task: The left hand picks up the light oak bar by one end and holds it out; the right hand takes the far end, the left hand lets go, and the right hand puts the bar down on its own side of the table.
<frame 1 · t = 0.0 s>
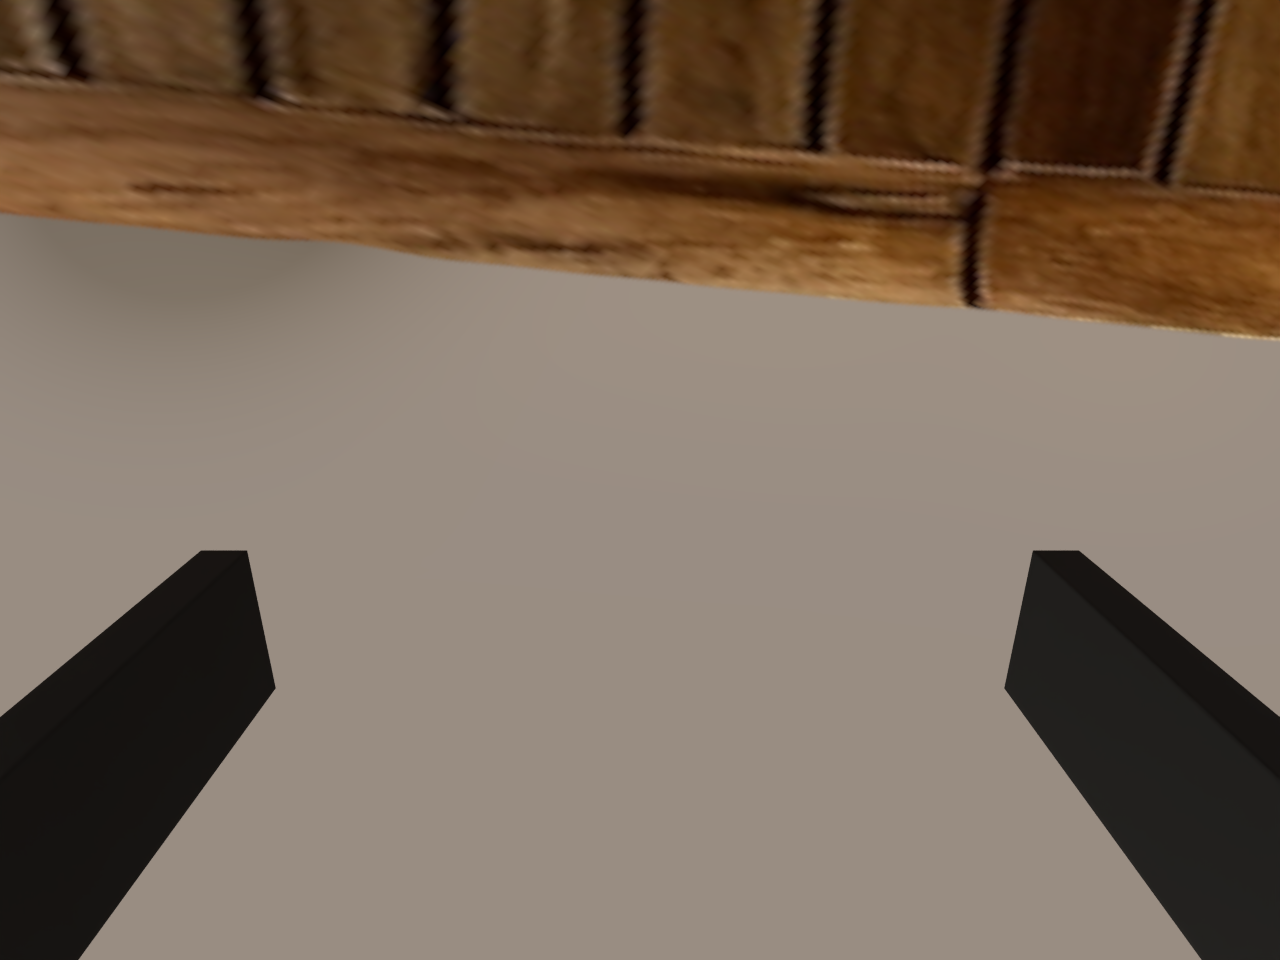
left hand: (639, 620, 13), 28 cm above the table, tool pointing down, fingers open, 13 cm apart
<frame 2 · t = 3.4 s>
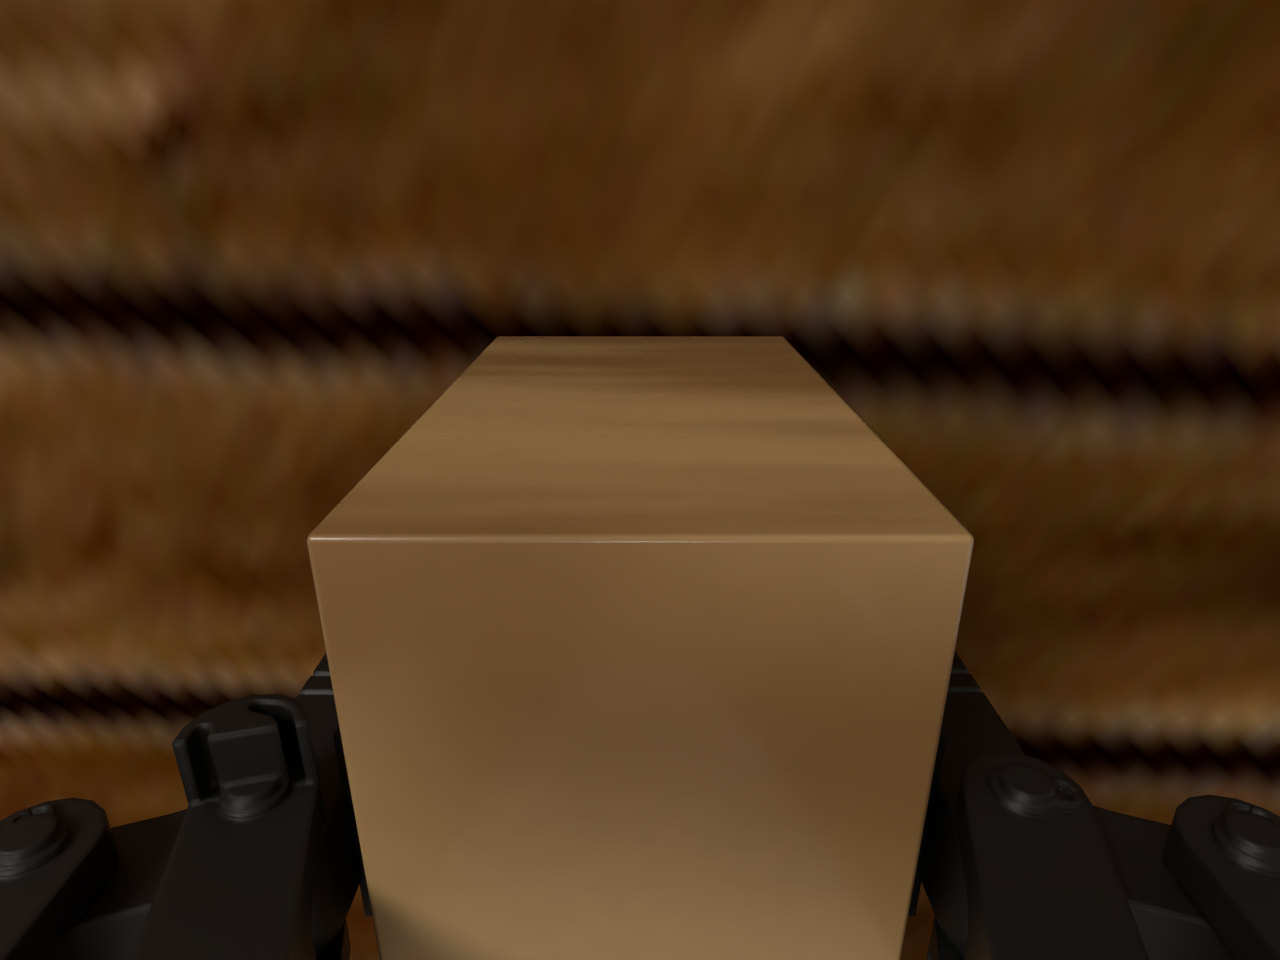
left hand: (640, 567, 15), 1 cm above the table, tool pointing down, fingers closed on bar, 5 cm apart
bar: (640, 863, 18), on the table, touching left hand
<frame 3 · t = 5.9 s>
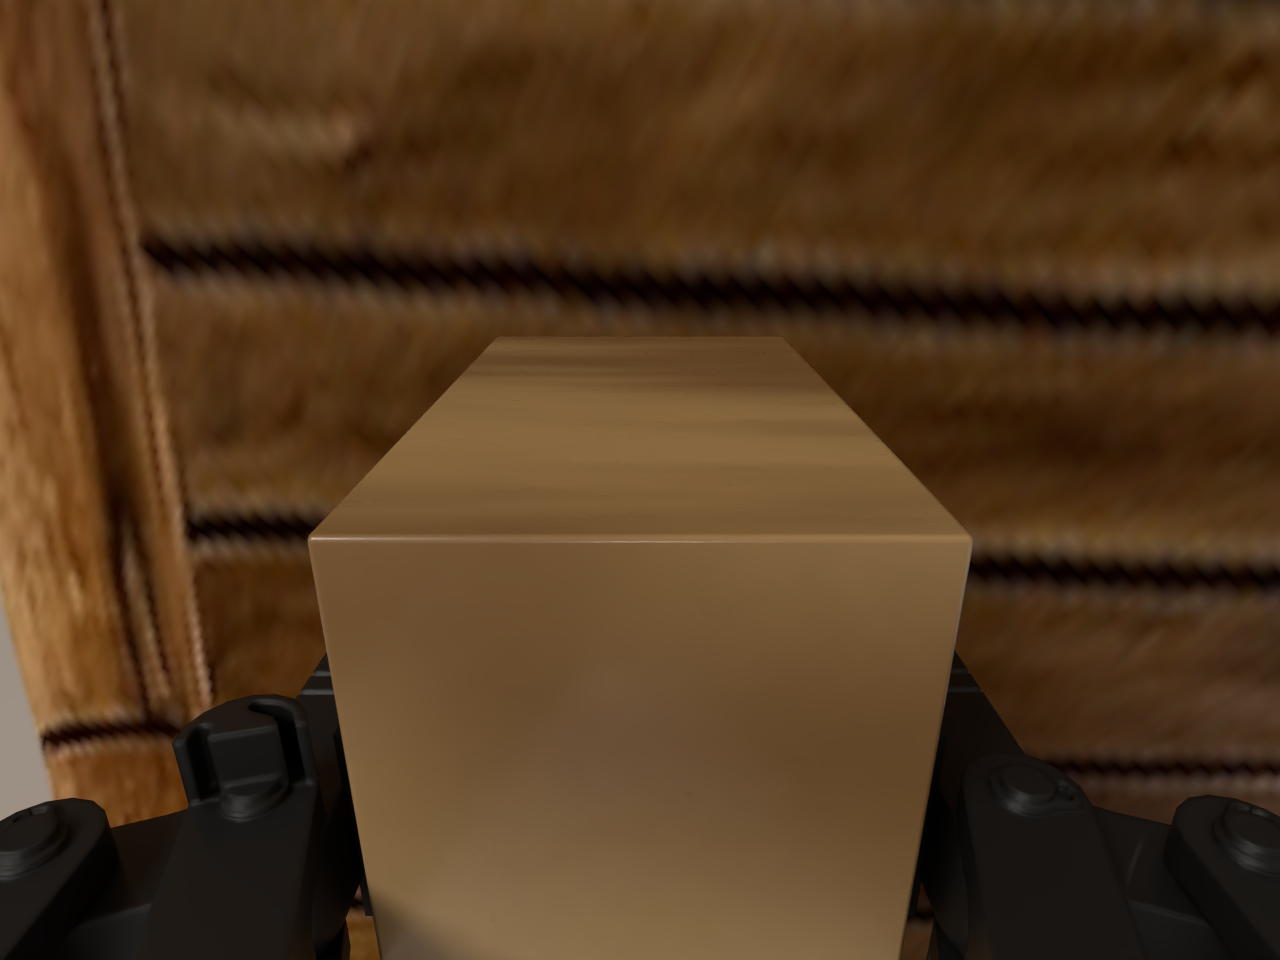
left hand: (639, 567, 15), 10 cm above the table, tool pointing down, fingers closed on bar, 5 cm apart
bar: (640, 863, 18), point 9 cm above the table, touching left hand
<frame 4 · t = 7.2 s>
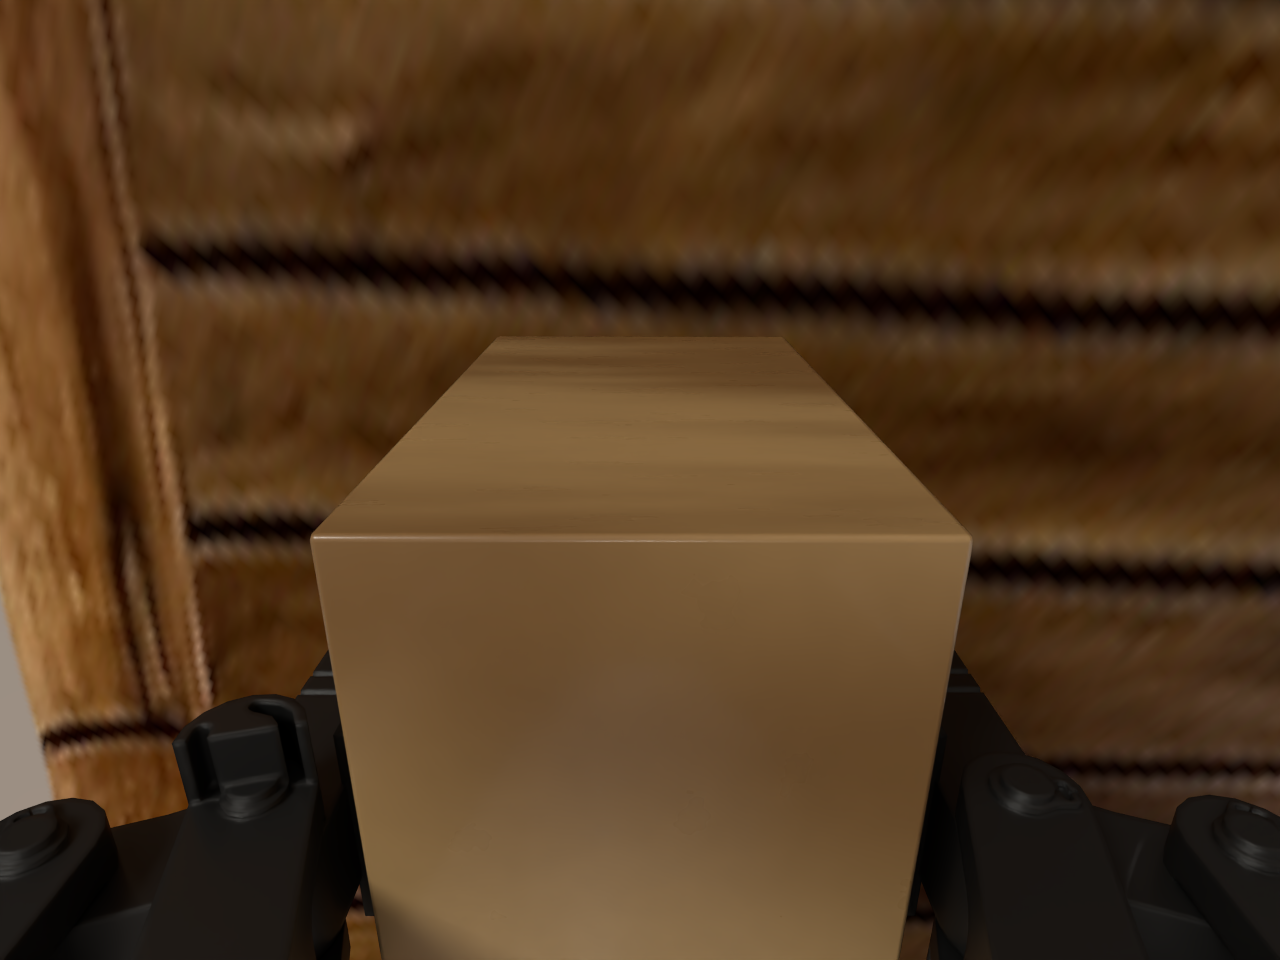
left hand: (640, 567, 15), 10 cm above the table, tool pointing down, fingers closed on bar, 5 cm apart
bar: (639, 862, 18), point 9 cm above the table, touching left hand, right hand
when the left hand's fingers open (10 cm above the table, at t = 8.2 s): bar stays where it is, held by the right hand.
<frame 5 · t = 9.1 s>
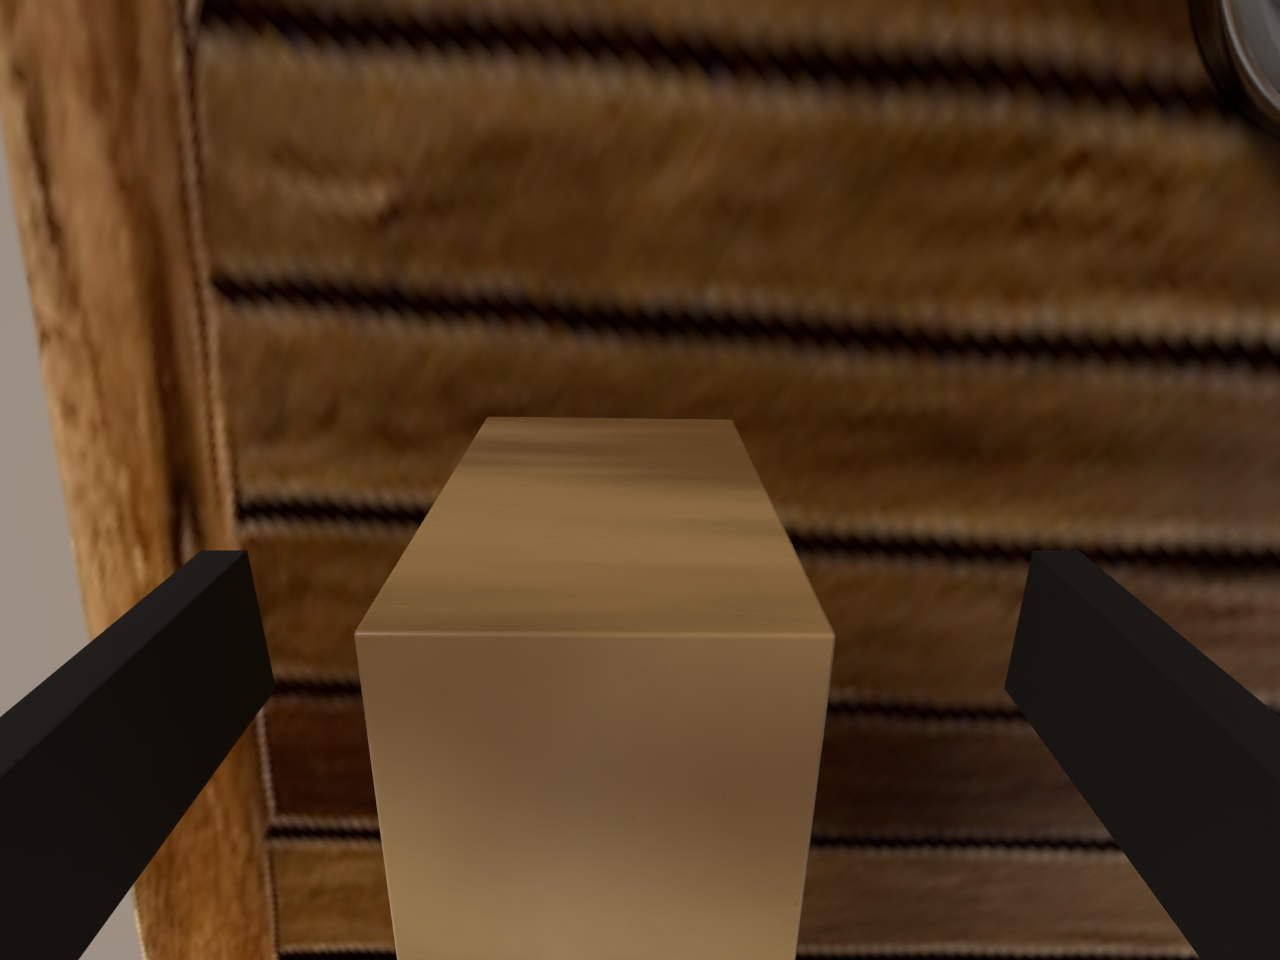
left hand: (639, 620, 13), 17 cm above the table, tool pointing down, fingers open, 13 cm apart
bar: (608, 871, 20), point 13 cm above the table, touching right hand
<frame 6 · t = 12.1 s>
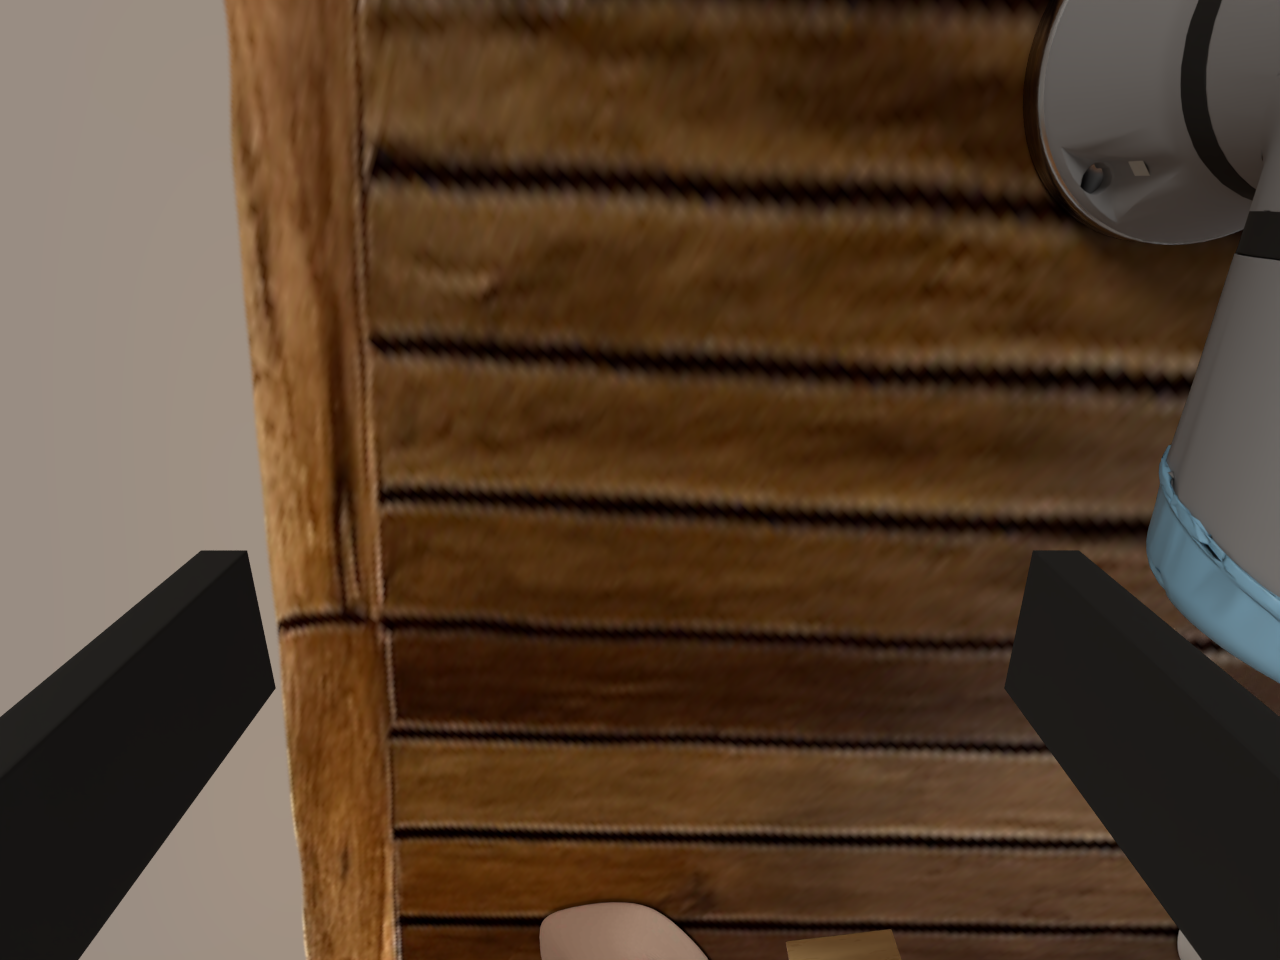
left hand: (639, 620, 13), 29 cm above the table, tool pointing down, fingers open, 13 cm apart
anatomical model: (622, 956, 57), on the table
when the right hand's fingers open (4 cm above the table, at t = 17.3 s): bar drops 1 cm, on the table.
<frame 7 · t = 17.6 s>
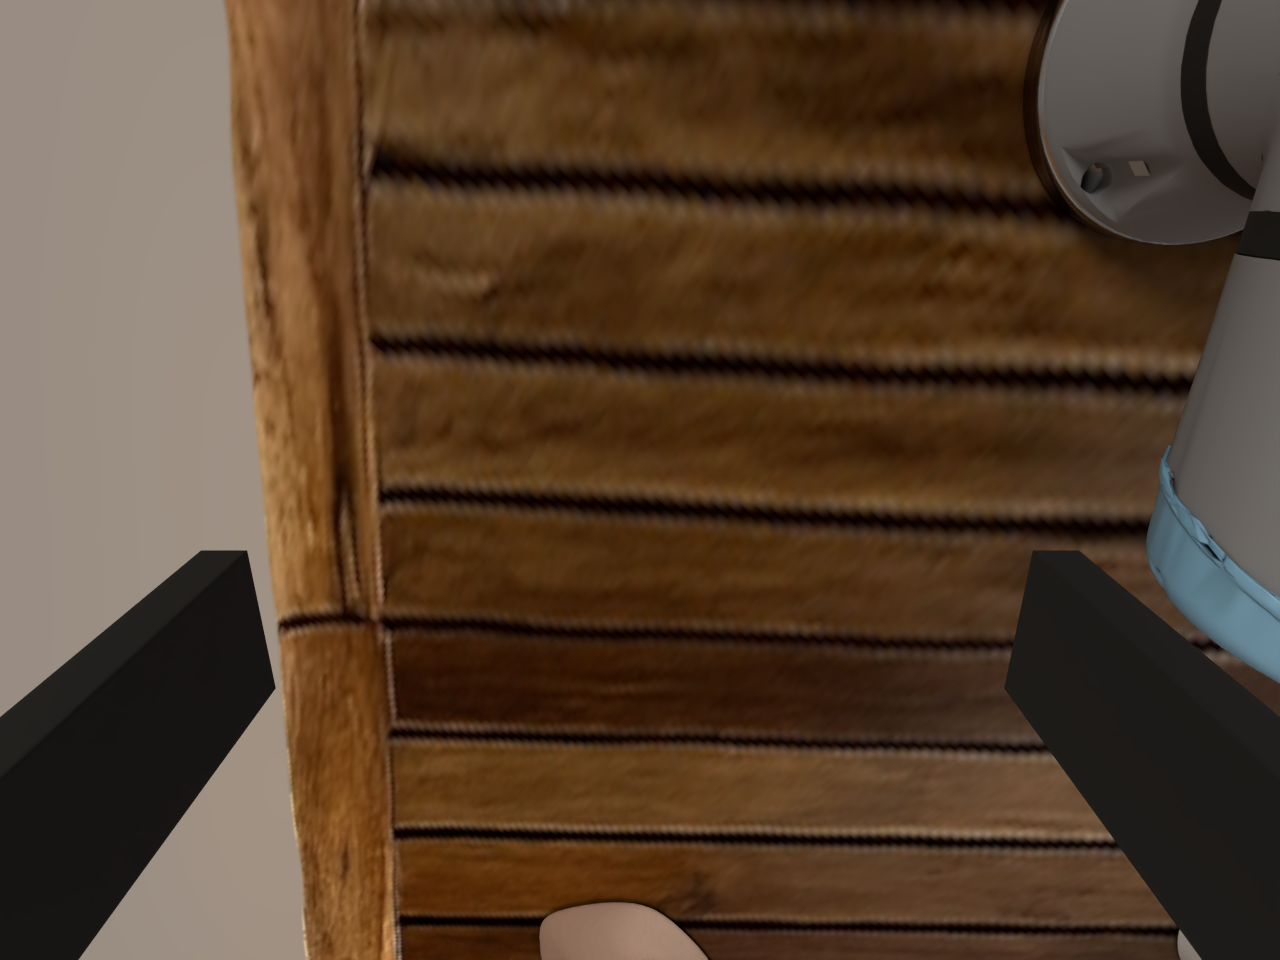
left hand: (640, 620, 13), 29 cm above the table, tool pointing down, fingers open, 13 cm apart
anatomical model: (622, 956, 57), on the table
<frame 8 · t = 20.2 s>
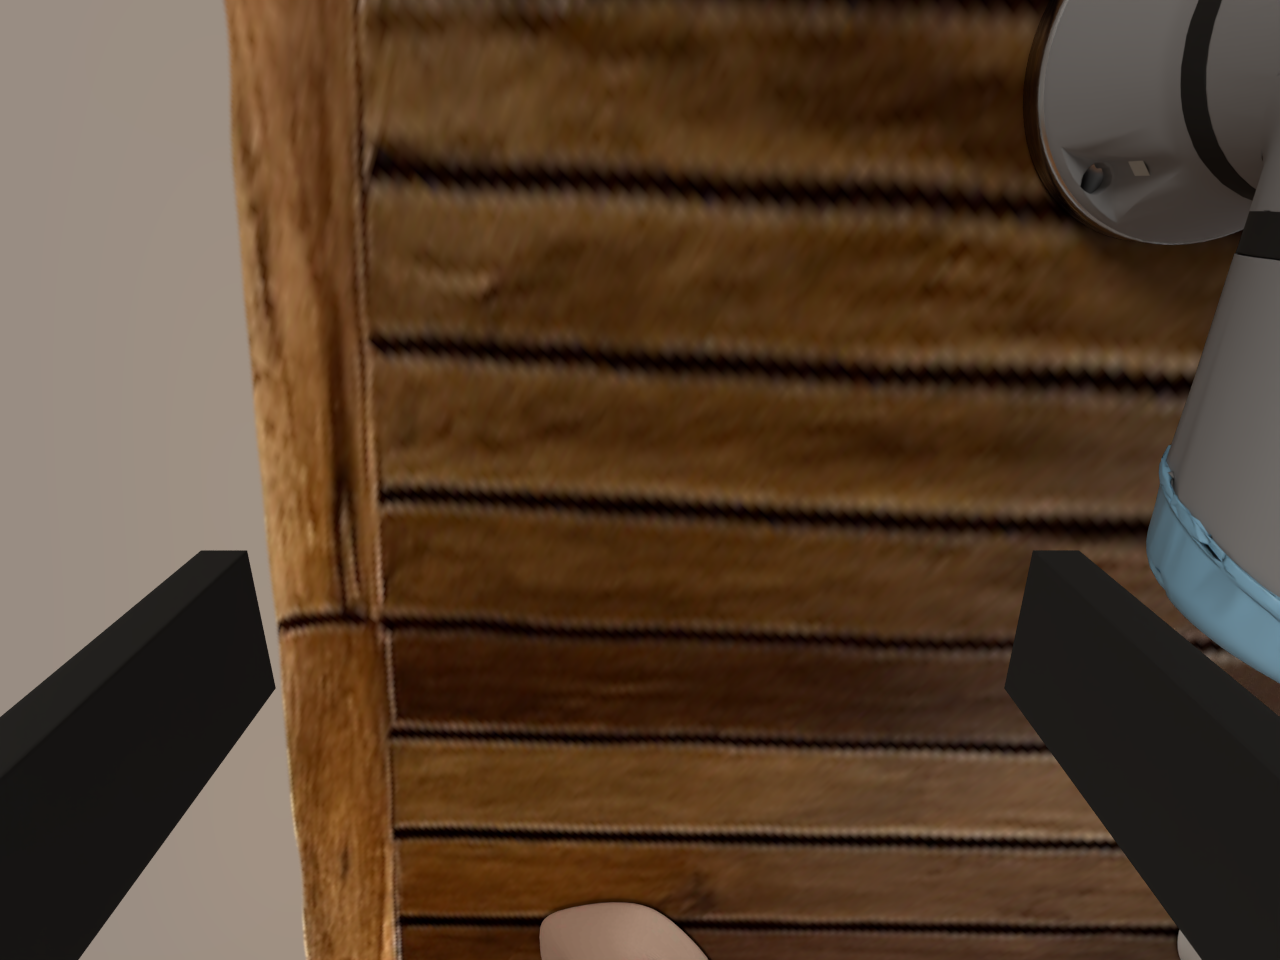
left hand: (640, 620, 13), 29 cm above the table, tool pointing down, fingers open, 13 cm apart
anatomical model: (622, 956, 57), on the table
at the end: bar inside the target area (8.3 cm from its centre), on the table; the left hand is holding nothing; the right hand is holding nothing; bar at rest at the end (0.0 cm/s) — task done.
